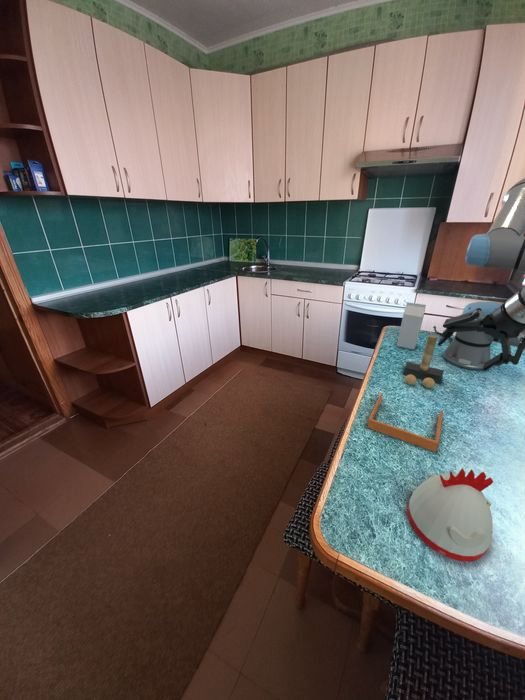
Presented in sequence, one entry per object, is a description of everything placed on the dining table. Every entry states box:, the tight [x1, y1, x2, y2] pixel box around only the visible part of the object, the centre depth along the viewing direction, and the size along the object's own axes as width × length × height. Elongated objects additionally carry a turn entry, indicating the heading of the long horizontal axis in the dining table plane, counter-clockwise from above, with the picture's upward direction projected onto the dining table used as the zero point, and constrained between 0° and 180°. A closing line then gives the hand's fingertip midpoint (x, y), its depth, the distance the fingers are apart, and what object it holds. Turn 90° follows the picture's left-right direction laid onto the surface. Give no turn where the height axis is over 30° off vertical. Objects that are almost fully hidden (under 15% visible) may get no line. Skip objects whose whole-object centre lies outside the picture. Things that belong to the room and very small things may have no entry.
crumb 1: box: [404, 375, 417, 386], centre depth 100 cm, size 4×4×4 cm
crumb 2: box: [422, 378, 436, 389], centre depth 98 cm, size 4×4×4 cm
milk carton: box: [396, 301, 427, 350], centre depth 123 cm, size 7×7×19 cm
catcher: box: [366, 392, 444, 453], centre depth 83 cm, size 15×17×3 cm
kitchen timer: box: [406, 467, 494, 562], centre depth 54 cm, size 14×14×15 cm
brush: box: [402, 333, 444, 385], centre depth 102 cm, size 5×12×16 cm, turn 57°
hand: (461, 354), depth 86 cm, fingers open, 13 cm apart
